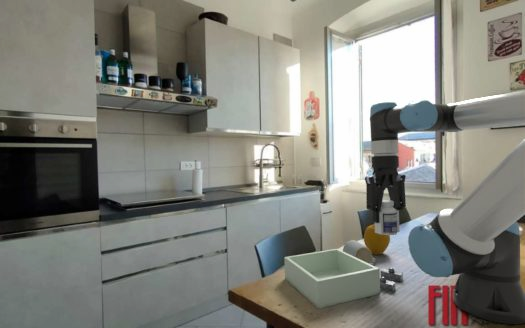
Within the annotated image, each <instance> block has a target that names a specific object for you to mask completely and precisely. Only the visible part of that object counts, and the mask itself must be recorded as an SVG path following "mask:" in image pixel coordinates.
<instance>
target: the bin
mask: <svg viewBox="0 0 525 328" xmlns="http://www.w3.org/2000/svg"><path fill="white" fill-rule="evenodd" d="M283 258H284V280H286V281H287V282H288V283H289V285H291V286H292V287H293V288H294V289H296V291H298V292H299V293H300V294H301V295H302V296H303V297H305V298H306V299H307V300H308V301H309V302H310V303H311V304H312V305H314V307H315V308H316V309H318V310H319V309H323V308H327V307H330V306H335V305H339V304H342V303H347V302H350V301H355V300H359V299H365V298H367V297H371V296H376V295H380V294H381V289H380V278H381V272H380V271H381V269H380V267H377V266H374V265H372V264H370V263H369V264H368V263H366V262H364V261H362V260H360V259H358V258H356V257H354V256H352V255H350V254H347V253H345V252H343V250H341V249H339V248H333V249H328V250H327V249H326V250H321V251H320V250H319V251H313V252H309V253H302V254H297V255H288V256H284V257H283Z"/></svg>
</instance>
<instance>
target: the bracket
mask: <svg viewBox="0 0 525 328" xmlns="http://www.w3.org/2000/svg"><path fill="white" fill-rule="evenodd" d="M387 279H388V280H387ZM403 279H404V272H401V271H396V270H395V269H394V268H393V267H389V268H388V269H387V268H382V269H380V290H383V291H386V292H391V293H394V292H395V291H396V282H403ZM395 281H396V282H395Z"/></svg>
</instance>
